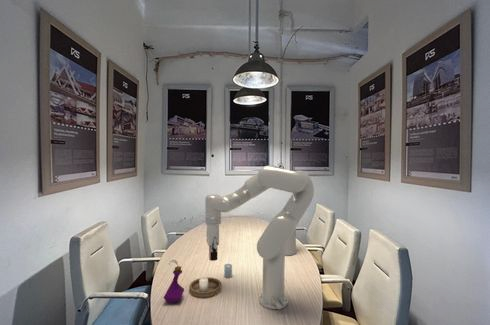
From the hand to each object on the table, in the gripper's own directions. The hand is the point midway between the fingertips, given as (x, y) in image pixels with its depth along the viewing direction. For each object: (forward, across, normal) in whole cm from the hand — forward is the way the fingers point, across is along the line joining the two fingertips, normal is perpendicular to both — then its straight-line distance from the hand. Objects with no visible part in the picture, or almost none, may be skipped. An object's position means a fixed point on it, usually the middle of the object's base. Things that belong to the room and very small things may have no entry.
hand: (213, 257), depth 124 cm
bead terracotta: (+1, 0, 0) cm, 1 cm away
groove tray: (+15, 0, -4) cm, 16 cm away
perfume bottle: (+15, +6, -18) cm, 24 cm away
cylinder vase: (+15, -34, +55) cm, 66 cm away
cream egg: (+14, +4, -5) cm, 16 cm away
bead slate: (+15, -10, +10) cm, 21 cm away
